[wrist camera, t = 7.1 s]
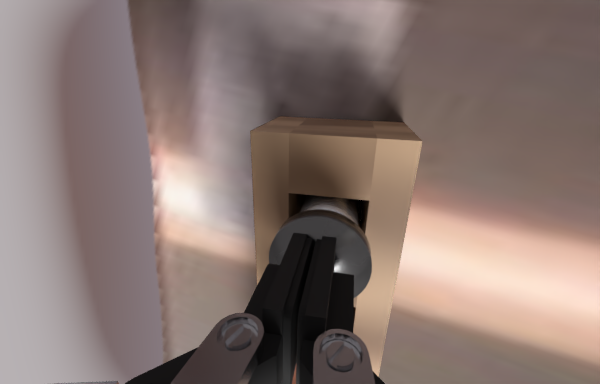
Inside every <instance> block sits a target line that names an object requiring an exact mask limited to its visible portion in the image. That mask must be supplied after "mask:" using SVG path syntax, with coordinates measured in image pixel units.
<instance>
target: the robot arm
mask: <svg viewBox="0 0 600 384" xmlns="http://www.w3.org/2000/svg"><path fill="white" fill-rule="evenodd" d="M336 240H337V238H336V237H327V236H322V240H321V239H317V240H316V243H315V247H314V251H313V255H312V247H313V239H312V238H308V234H301V233H293V235H292V237H291V240H290V242H289V244H288V247H287V249H286V252H285V254H284V256H283V259H282V261H281V264H280V265H278V264H271V263H269V264H268V265H267V267H266V269H265V271H264V273H263V275H262V277H261V279H260V281H259V283H258V285H257V287H256V289H255V291H254V293H253V295H252V298H251V300H250V302H249V304H248V306H247V308H246V310H245V312H244V313H235V314H232V315H229V316H227V317H225V318H223V319H222V320H220V321H219V322H218V323H217V324H216V325H215V327H214V328H213V329H212V331H211V332H210V333H209V334H208V336H207V337H206V338H205V340H204V341H203V342H202V343H201V345H200V346H199V347H198V348H196V349H194V350H191V351H189V352H187V353H185V354H183V355H181V356H179V357H177V358H175V359H173V360H171V361H168V362H166V363H164V364H162V365H160V366H158V367H156V368H154V369H152V370H150V371H148V372H145V373H143V374H141V375H139V376H137V377H135V378H133V379H132V380H130V381H128V382H127V383H125V384H292V381H293V376H294V371H295V367H296V384H385V383H384V382H383V381H382V380H381V379H380V378H379V377H378V376H377V375H376V374H375V373H374V372H373V371H372V366H371V361H370V356H369V352H368V349H367V347H366V345H365V343H364V342H363V341H362V340H361V338H359V337H358V336H357V335H355V334H354V333H353V316H354V275H352V274H344V273H337V272H334V265H335V253H336ZM57 384H119V383H118V381H108V382H107V381H106V382H81V383H57Z"/></svg>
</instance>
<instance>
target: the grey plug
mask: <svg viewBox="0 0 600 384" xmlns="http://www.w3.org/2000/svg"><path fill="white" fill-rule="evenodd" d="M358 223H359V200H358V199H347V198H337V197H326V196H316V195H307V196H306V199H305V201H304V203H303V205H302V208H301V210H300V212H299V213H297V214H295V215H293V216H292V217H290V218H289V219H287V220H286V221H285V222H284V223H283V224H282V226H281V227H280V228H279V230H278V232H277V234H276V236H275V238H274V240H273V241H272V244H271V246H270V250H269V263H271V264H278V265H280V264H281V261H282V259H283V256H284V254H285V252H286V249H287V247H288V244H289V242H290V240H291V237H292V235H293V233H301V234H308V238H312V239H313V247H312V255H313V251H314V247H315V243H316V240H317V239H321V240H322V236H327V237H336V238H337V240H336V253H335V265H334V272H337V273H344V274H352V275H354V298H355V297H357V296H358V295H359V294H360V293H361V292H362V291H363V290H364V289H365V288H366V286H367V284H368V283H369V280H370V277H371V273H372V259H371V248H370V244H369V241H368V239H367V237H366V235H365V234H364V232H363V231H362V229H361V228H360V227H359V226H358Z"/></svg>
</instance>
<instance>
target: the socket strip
mask: <svg viewBox="0 0 600 384" xmlns="http://www.w3.org/2000/svg"><path fill="white" fill-rule="evenodd" d="M250 135H251V158H252V180H253V203H254V226H255V248H256V271H257V285H258V283H259V281H260V279H261V277H262V275H263V273H264V271H265V269H266V267H267V265H268V264H269V250H270V246H271V244H272V241H273V240H274V238H275V236H276V234H277V232H278V230H279V228H280V227H281V226H282V224H283V223H284V222H285V221H286V220H287V219H289V218H290V217H292V216H293V215H295V214H297V213H299V212H300V210H301V208H302V205H303V203H304V201H305V199H306V195H316V196H326V197H337V198H347V199H358V200H363V204H362V212H361V221H359V223H358V226H359V227H360V228H361V229H362V231H363V232H364V234H365V235H366V237H367V239H368V241H369V244H370V248H371V259H372V273H371V277H370V280H369V283H368V284H367V286H366V288H365V289H364V290H363V291H362V292H361V293H360V294H359V295H358V296H357V297H355V298H354V316H353V333H354V334H355V335H357V336H358V337H359V338H361V340H362V341H363V342H364V343H365V345H366V347H367V349H368V352H369V356H370V361H371V366H372V371H373V372H374V373H375V374H376V375H377V376H379V371H380V365H381V360H382V354H383V349H384V344H385V338H386V333H387V328H388V322H389V317H390V312H391V306H392V301H393V296H394V290H395V285H396V280H397V274H398V269H399V264H400V258H401V253H402V248H403V242H404V237H405V232H406V226H407V221H408V215H409V210H410V205H411V199H412V194H413V189H414V183H415V178H416V173H417V167H418V162H419V157H420V151H421V146H422V140H421V139H420V138H419V137H418V136H417V135H416V134H415V133H414V132H413V131H412V130H411V129H410V128H409V127H408V126H407V125H406V124H405V123H404V122H385V121H365V120H344V119H324V118H303V117H283V116H280V117H278V118H276V119H274V120H272V121H270V122H268V123H266V124H264V125H262V126H260V127H258V128H255V129H253V130H251V131H250Z"/></svg>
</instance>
